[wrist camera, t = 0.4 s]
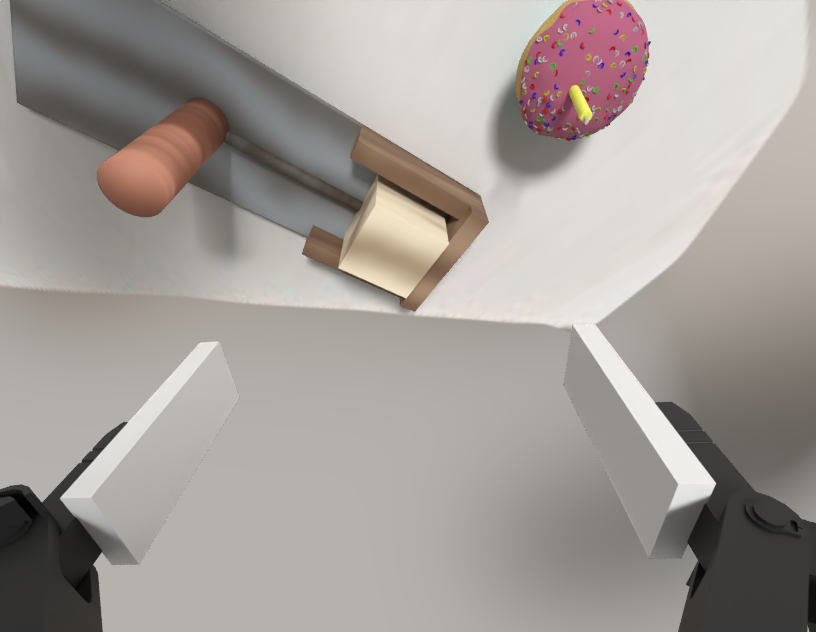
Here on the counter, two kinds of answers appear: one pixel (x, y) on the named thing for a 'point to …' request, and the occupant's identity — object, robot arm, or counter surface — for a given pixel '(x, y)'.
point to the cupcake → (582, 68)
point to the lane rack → (244, 110)
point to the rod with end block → (207, 130)
